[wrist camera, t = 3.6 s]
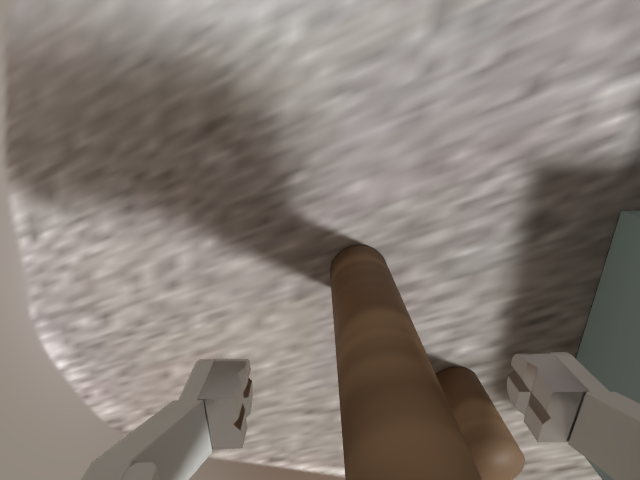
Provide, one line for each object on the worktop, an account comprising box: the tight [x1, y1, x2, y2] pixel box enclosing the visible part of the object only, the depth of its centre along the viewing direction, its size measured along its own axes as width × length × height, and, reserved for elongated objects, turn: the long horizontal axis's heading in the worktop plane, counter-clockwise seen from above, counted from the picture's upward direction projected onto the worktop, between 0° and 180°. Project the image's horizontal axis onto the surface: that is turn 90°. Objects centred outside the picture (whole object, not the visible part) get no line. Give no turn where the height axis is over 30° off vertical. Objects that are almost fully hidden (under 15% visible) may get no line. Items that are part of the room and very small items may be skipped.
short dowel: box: [436, 367, 525, 480], centre depth 19 cm, size 3×3×5 cm
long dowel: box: [330, 245, 482, 480], centre depth 12 cm, size 3×3×12 cm
